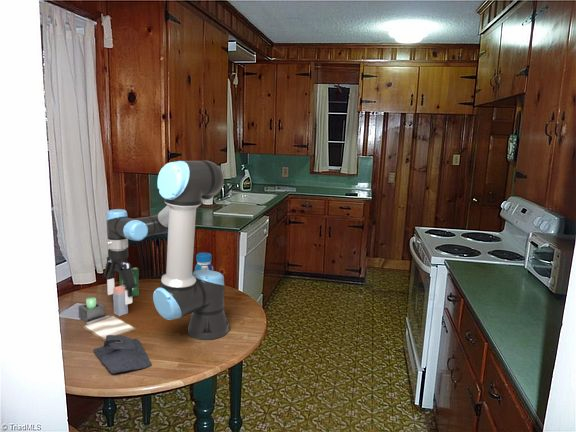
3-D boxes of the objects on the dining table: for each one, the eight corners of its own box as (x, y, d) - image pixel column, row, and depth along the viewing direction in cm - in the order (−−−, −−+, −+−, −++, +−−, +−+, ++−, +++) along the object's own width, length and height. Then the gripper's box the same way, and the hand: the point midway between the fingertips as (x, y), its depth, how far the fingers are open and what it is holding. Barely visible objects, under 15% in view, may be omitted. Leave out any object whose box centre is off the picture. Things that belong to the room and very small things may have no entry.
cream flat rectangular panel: (136, 329, 161) (136, 326, 161) (103, 341, 151) (103, 338, 151) (113, 316, 172) (113, 313, 172) (81, 326, 162) (80, 324, 162)
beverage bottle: (190, 298, 193) (190, 255, 189) (201, 292, 200) (201, 250, 197) (206, 301, 190) (206, 258, 186) (217, 295, 197) (217, 253, 194)
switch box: (105, 317, 170) (104, 305, 169) (87, 323, 165) (86, 311, 164) (96, 312, 174) (95, 301, 173) (79, 317, 169) (78, 306, 168)
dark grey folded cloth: (103, 381, 128) (102, 367, 127) (92, 349, 146) (91, 336, 145) (155, 368, 136) (154, 354, 135) (138, 339, 154) (137, 327, 153)
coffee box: (138, 293, 196) (137, 266, 193) (139, 296, 193) (138, 268, 191) (119, 296, 192) (118, 268, 189) (120, 298, 189) (119, 270, 187)
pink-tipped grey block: (128, 313, 175) (127, 287, 173) (118, 316, 172) (117, 290, 170) (122, 310, 177) (121, 285, 175) (113, 313, 174) (112, 287, 172)
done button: (98, 310, 169) (97, 298, 168) (89, 313, 166) (88, 301, 166) (94, 308, 171) (93, 296, 171) (85, 310, 169) (84, 298, 168)
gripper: (93, 243, 174) (95, 292, 179) (126, 257, 159) (127, 310, 163) (110, 240, 180) (112, 288, 184) (144, 253, 165) (145, 304, 169)
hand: (119, 298), depth 174 cm, fingers open, 13 cm apart
